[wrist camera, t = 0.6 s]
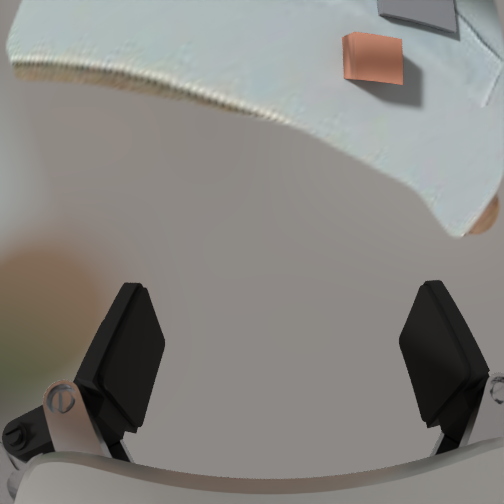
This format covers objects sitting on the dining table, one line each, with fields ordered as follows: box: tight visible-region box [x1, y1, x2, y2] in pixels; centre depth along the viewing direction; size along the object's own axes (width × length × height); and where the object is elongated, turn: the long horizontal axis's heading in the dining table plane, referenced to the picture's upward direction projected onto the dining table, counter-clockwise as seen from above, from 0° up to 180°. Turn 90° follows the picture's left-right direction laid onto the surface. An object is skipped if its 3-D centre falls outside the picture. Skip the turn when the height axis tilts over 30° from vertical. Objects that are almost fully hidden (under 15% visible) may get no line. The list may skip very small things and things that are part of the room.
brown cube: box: [342, 32, 403, 85], centre depth 24 cm, size 5×5×5 cm
